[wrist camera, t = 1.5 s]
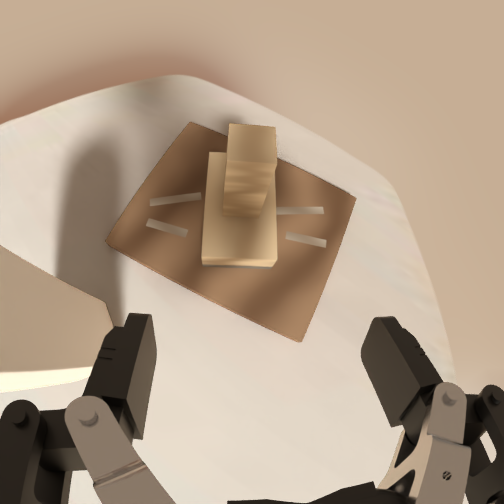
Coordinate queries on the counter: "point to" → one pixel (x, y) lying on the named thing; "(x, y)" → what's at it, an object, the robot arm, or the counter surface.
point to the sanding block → (242, 201)
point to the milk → (45, 327)
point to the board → (236, 279)
